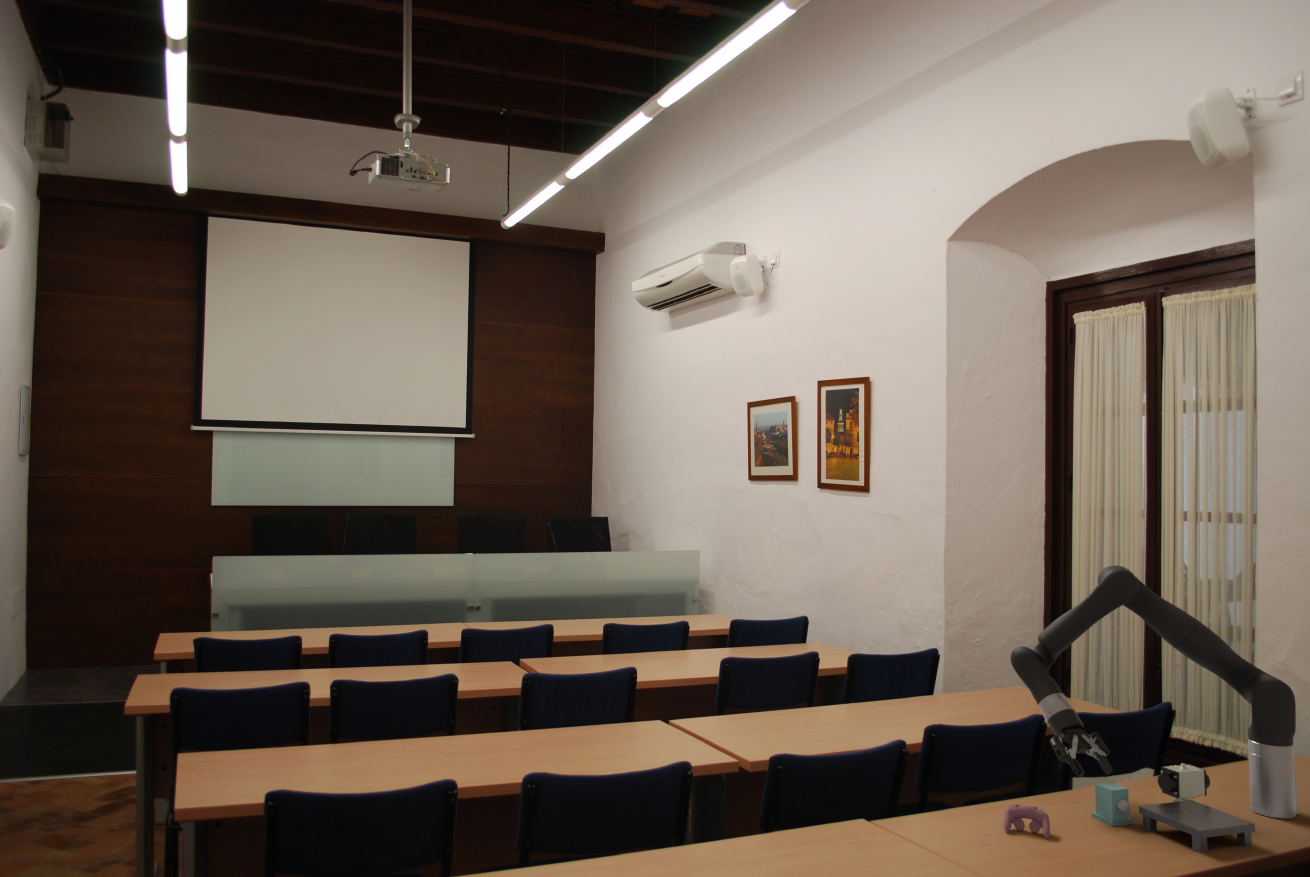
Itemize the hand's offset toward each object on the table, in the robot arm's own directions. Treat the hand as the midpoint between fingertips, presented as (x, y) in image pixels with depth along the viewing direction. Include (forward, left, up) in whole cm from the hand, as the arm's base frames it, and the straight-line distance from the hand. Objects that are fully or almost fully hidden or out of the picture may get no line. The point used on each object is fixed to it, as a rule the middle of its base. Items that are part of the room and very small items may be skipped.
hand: (1095, 774), depth 217 cm
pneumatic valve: (-21, +6, -10) cm, 24 cm away
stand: (-10, +19, -9) cm, 23 cm away
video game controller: (+26, +6, -10) cm, 28 cm away
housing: (0, +5, -9) cm, 11 cm away
